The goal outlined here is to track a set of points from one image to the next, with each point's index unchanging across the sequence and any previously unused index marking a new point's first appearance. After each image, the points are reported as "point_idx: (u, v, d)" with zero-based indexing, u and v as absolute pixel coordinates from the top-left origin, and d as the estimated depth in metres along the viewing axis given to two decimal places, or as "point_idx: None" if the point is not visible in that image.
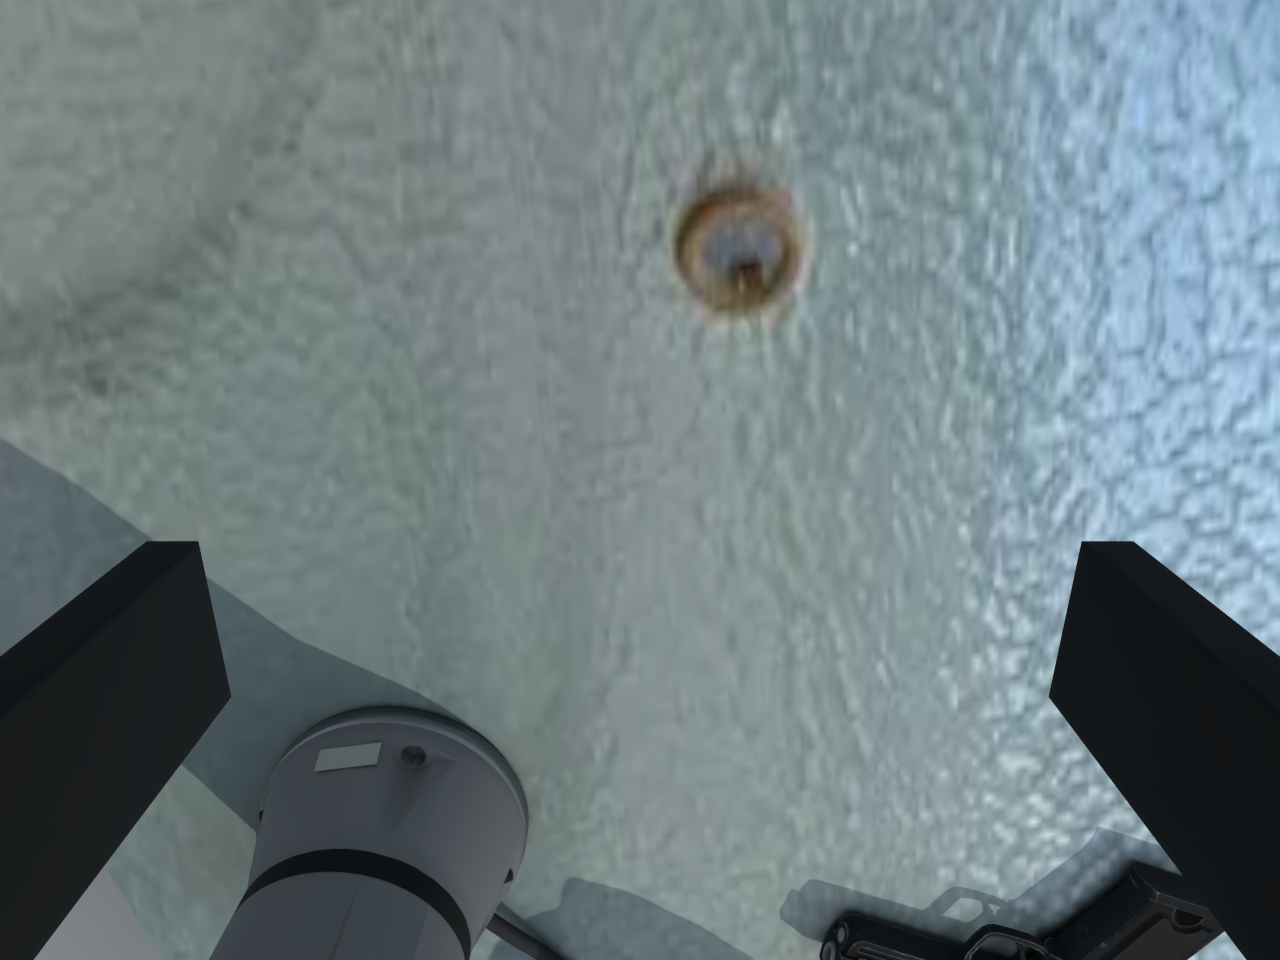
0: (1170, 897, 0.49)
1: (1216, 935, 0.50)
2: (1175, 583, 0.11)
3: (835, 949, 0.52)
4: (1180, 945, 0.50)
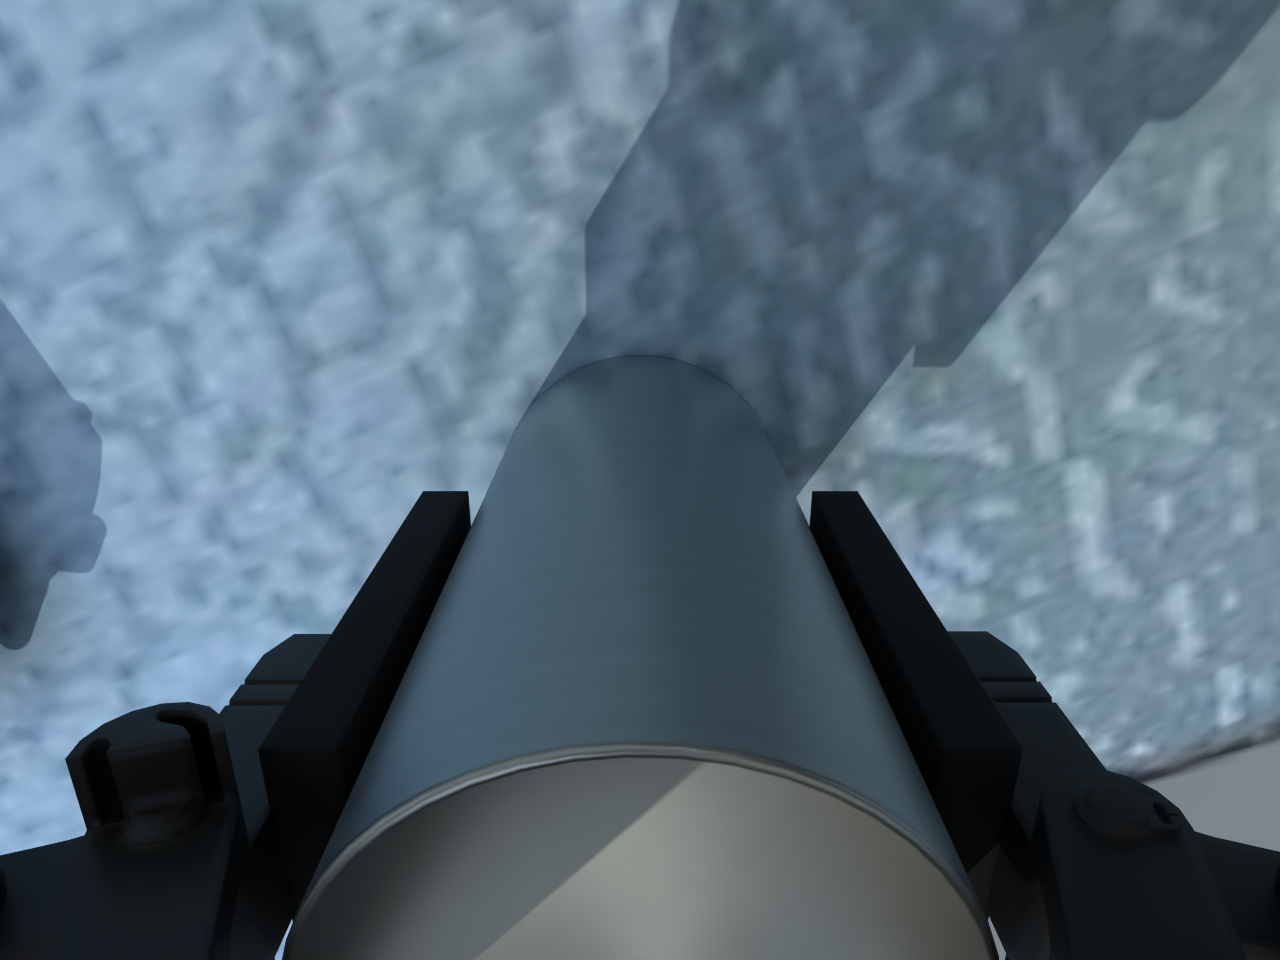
0: None
1: None
2: (868, 522, 0.13)
3: None
4: None
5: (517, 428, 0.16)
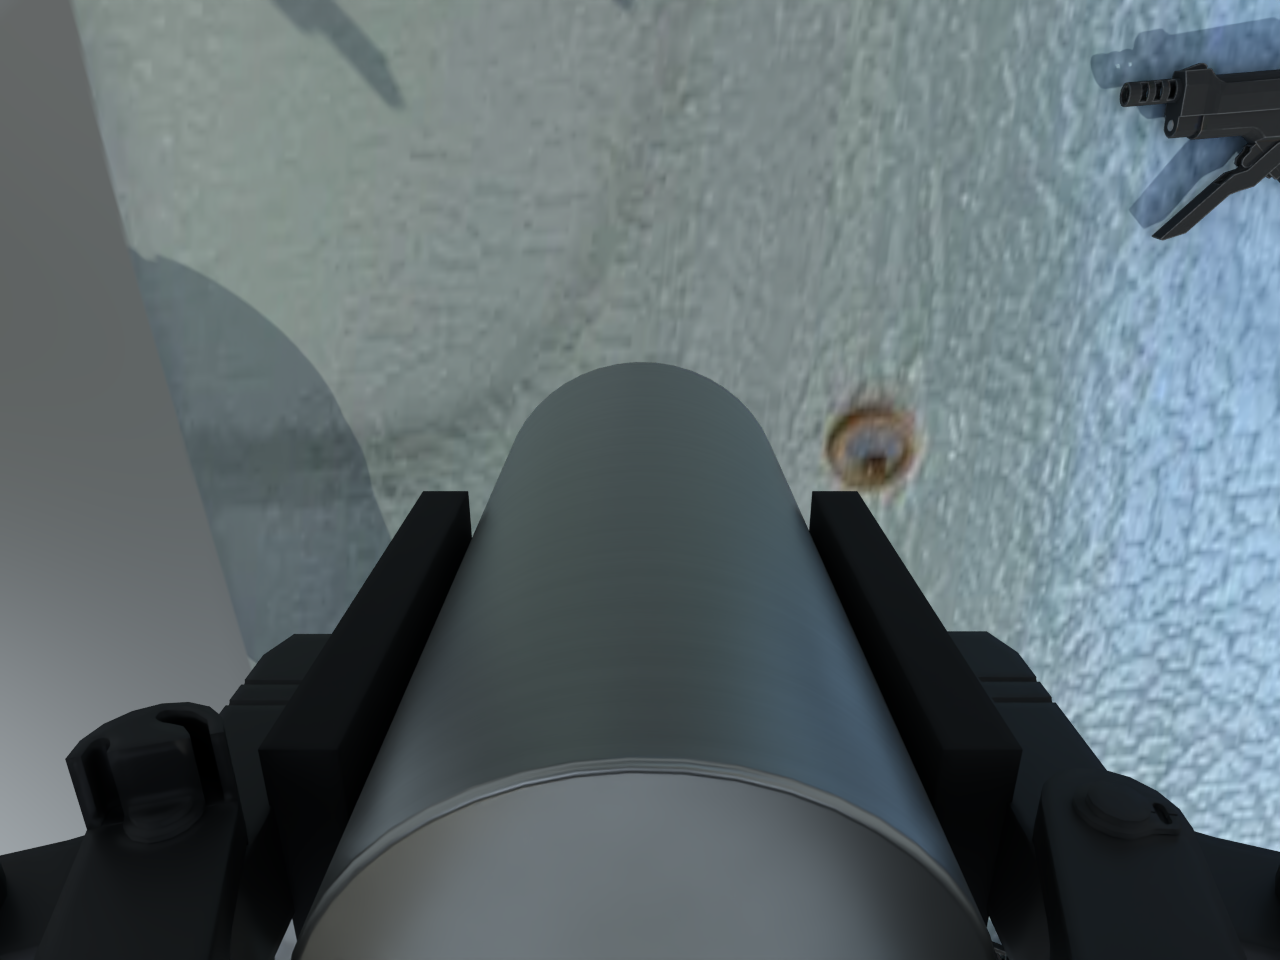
0: None
1: None
2: (868, 522, 0.13)
3: None
4: None
5: (519, 435, 0.16)
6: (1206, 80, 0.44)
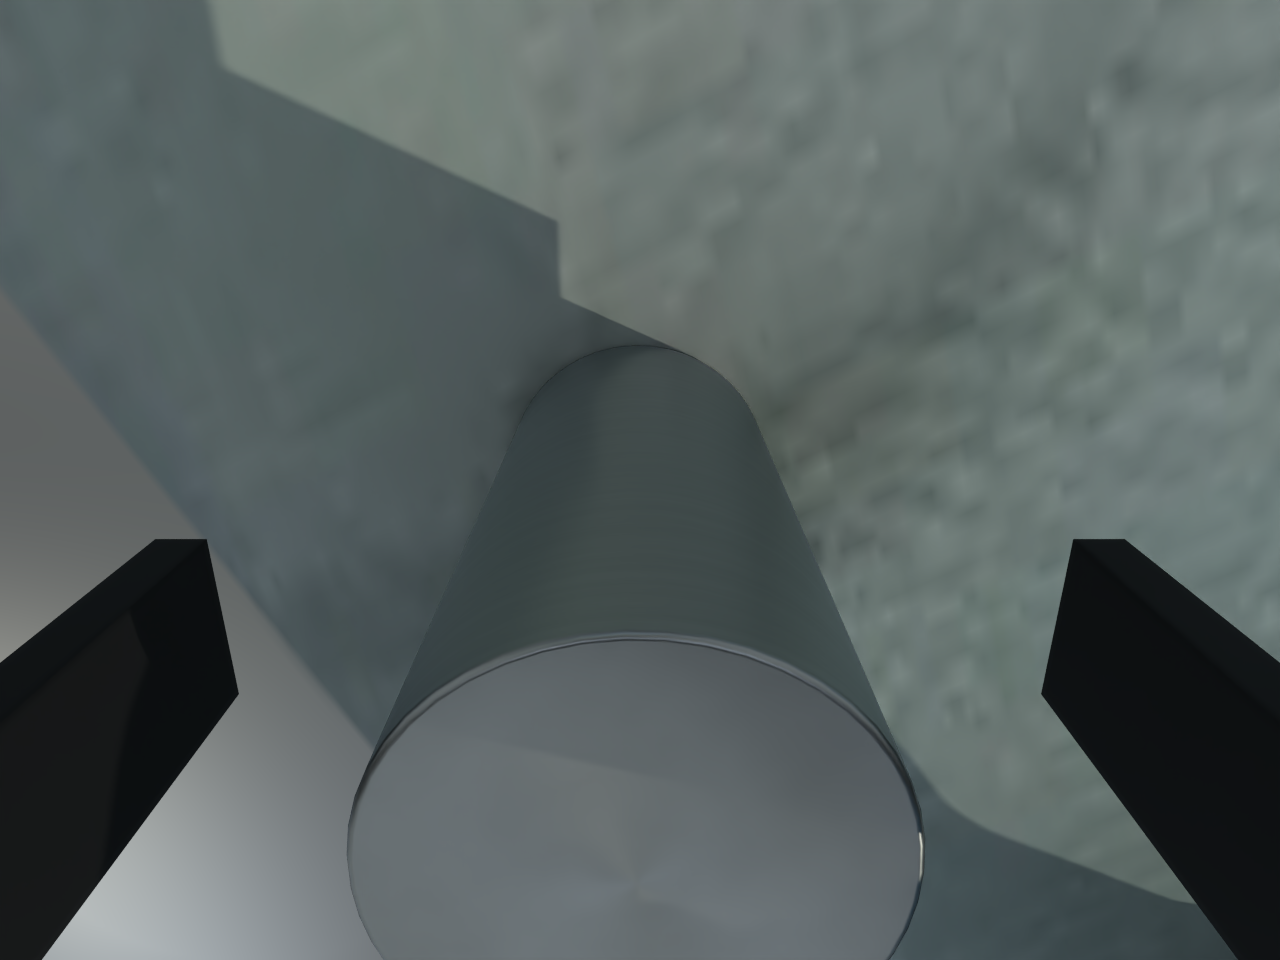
0: None
1: None
2: (1165, 580, 0.11)
3: None
4: None
5: (526, 411, 0.18)
6: None
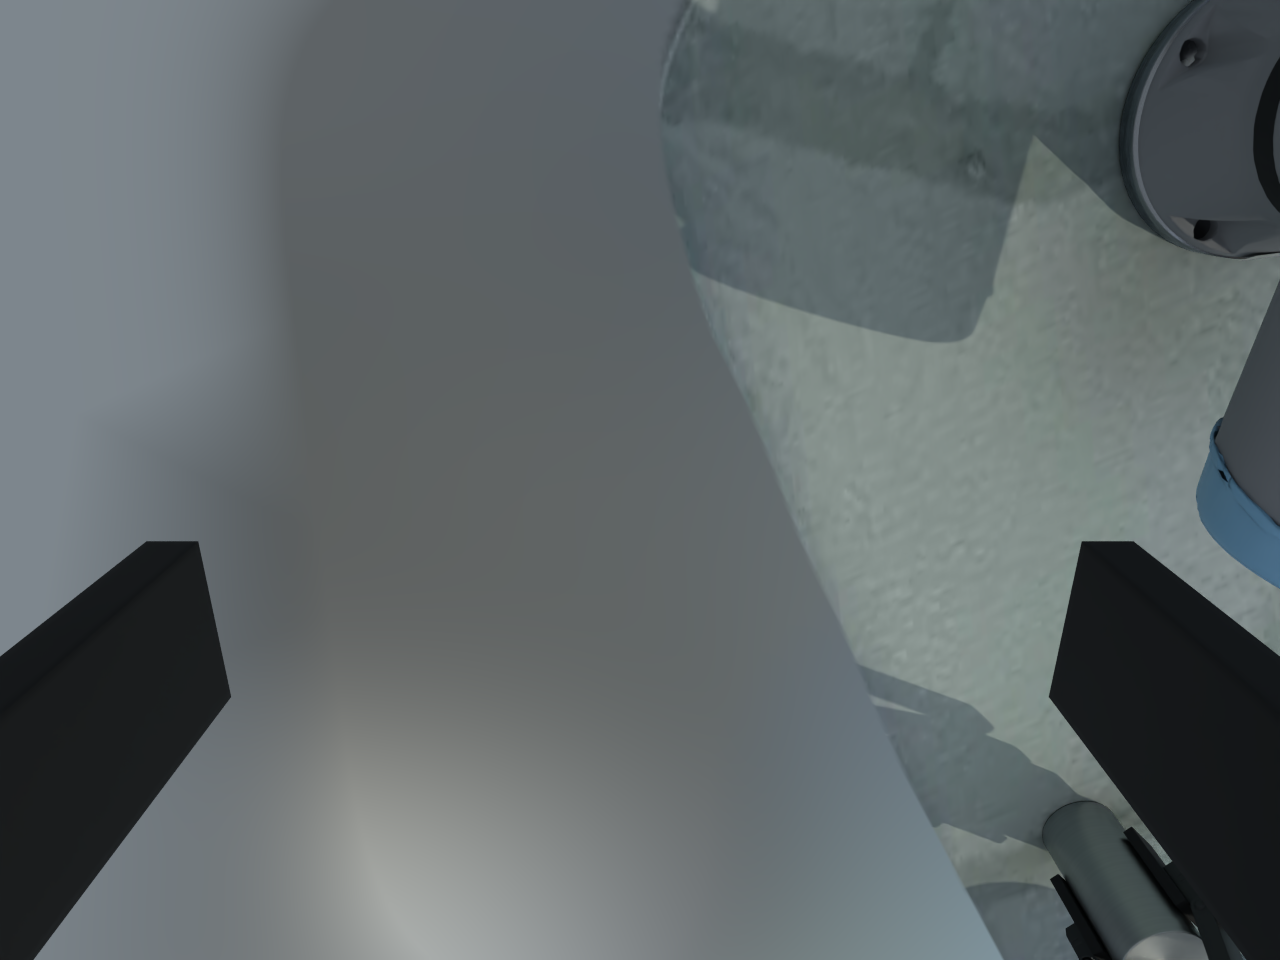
0: None
1: None
2: (1175, 583, 0.11)
3: None
4: None
5: (1058, 822, 0.65)
6: None
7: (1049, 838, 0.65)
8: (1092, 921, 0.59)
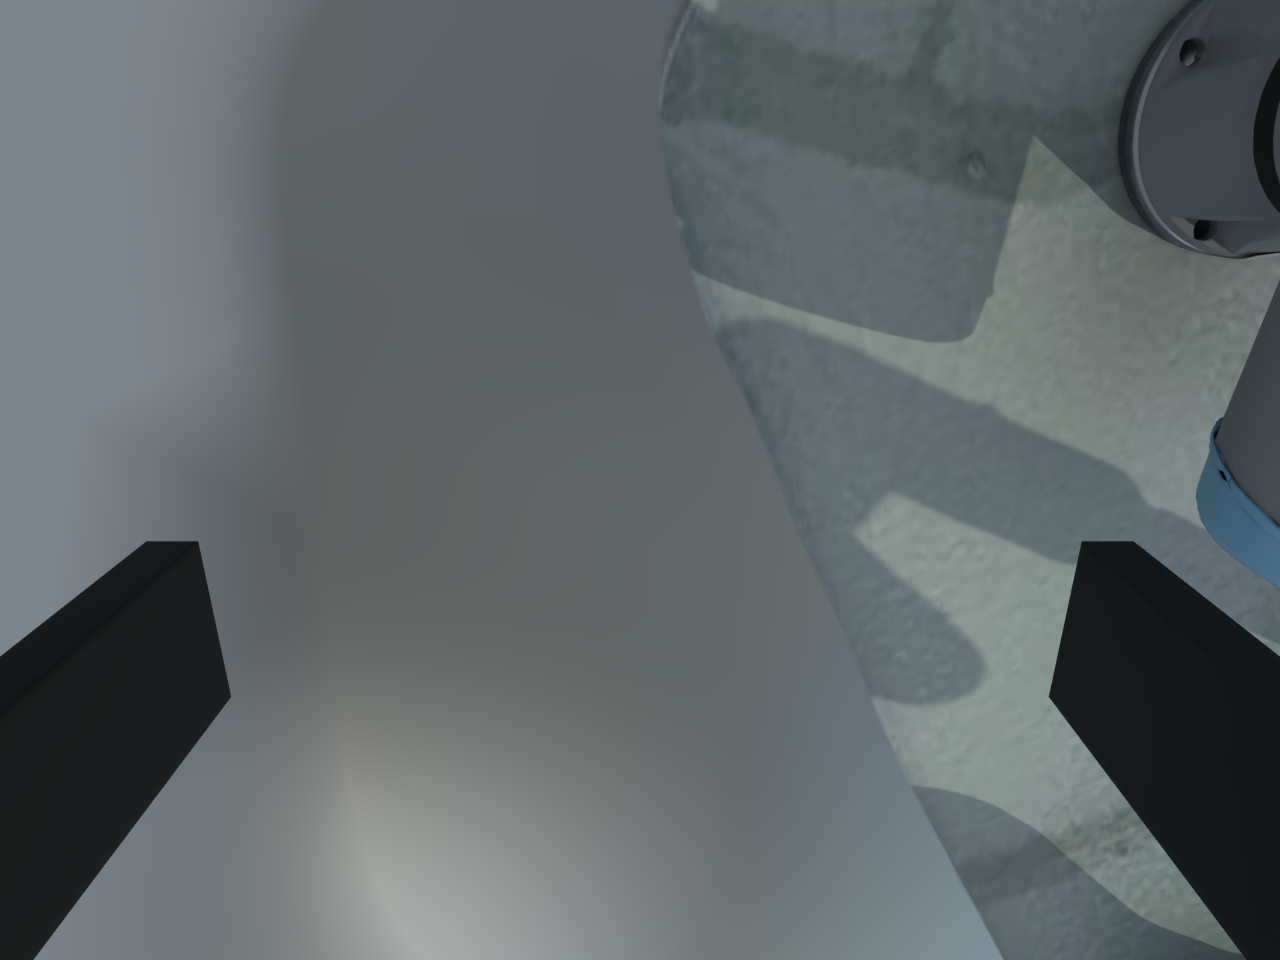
0: None
1: None
2: (1175, 583, 0.11)
3: None
4: None
5: None
6: None
7: None
8: None
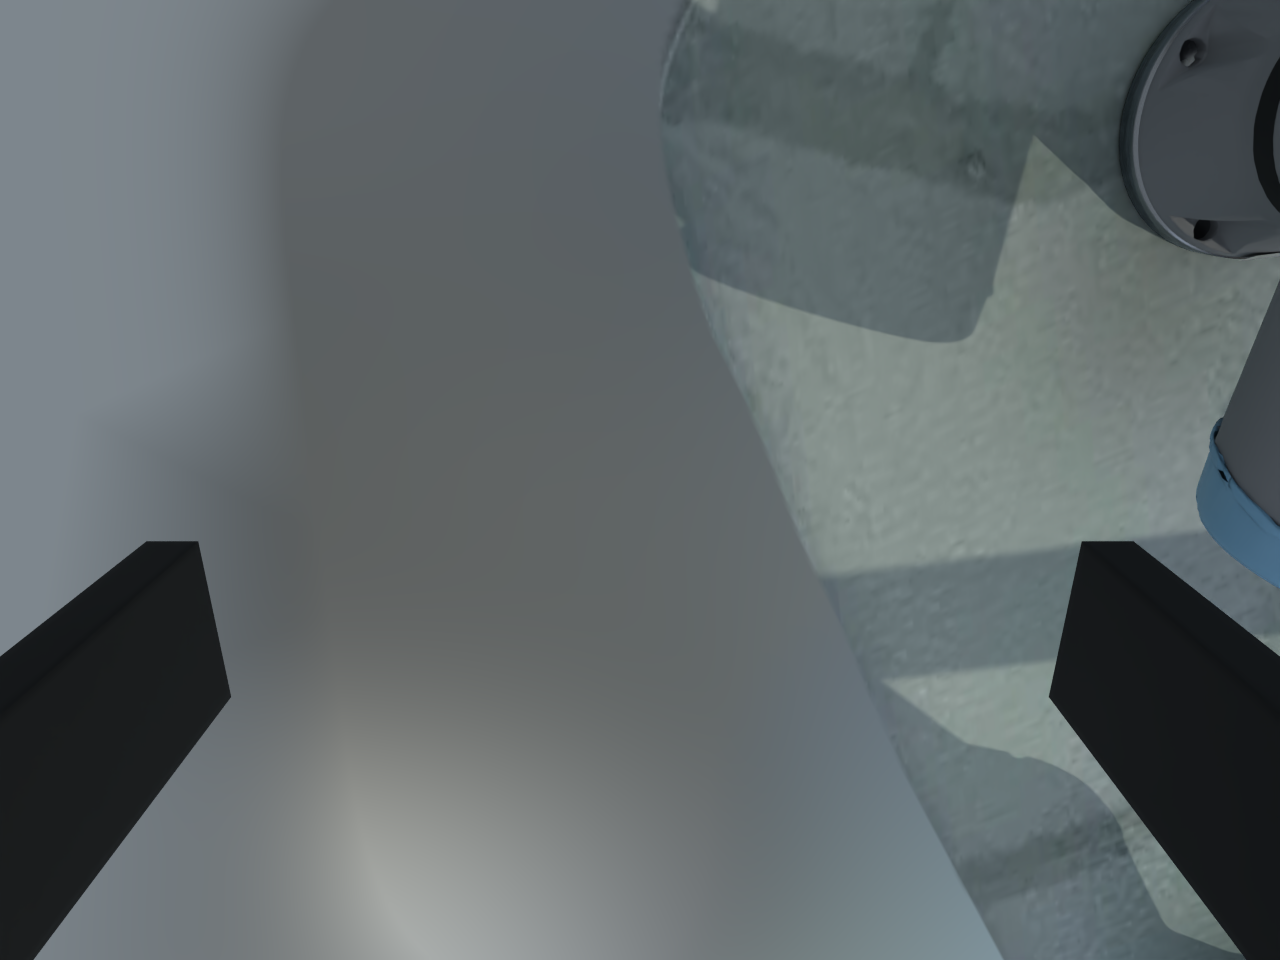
0: None
1: None
2: (1175, 583, 0.11)
3: None
4: None
5: None
6: None
7: None
8: None
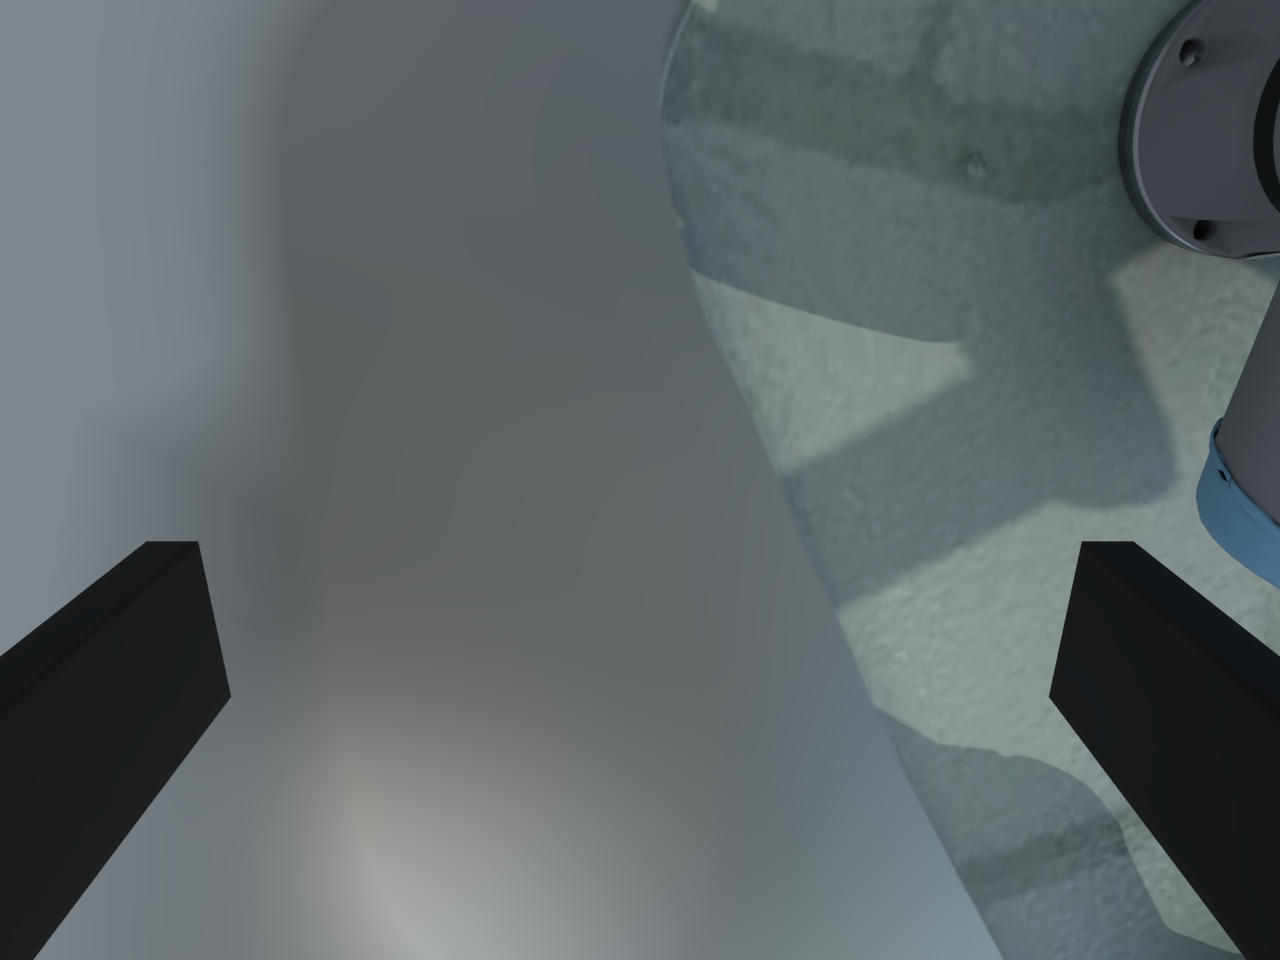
0: None
1: None
2: (1175, 583, 0.11)
3: None
4: None
5: None
6: None
7: None
8: None
